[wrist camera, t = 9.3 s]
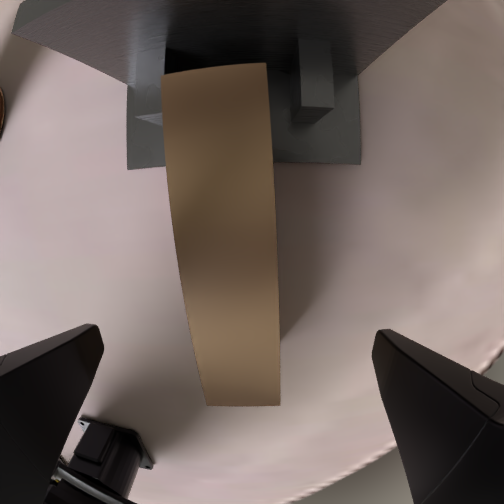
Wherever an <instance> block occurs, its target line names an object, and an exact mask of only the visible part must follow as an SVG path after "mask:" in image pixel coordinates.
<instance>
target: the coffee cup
mask: <svg viewBox="0 0 504 504" xmlns="http://www.w3.org/2000/svg"><path fill="white" fill-rule="evenodd" d="M3 119H4V97H3V94H2V91H1V88H0V132H1V128H2V123H3Z"/></svg>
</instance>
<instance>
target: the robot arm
mask: <svg viewBox="0 0 504 504" xmlns="http://www.w3.org/2000/svg"><path fill="white" fill-rule="evenodd" d="M103 352H104V344H103V341H102V337H101V334H100V330H99V328H98V326H97V325H94V324H84V325H82V326H79V327H76V328H74V329H71V330H69V331H66V332H63V333H61V334H58V335H56V336H53V337H50V338H48V339H45V340H42V341H40V342H37V343H35V344H32V345H29V346H27V347H24V348H21V349H19V350H16V351H13V352H11V353H8V354H7V355H6V354H5V355H3V356H0V504H137V503H135V502H132V501H130V500H128V496H129V493H130V490H131V488H132V485H133V482H134V479H135V477H136V474H137V471H138V468H139V467H140V468H145V469H150V470H151V469H152V468H153V464H152V462H151V460H150V458H149V456H148V454H147V452H146V450H145V448H144V446H143V444H142V442H141V439H140V437H139V435H138V434H137V433H136V432H135V431H132V430H128V429H123V428H119V427H115V426H111V425H107V424H103V423H99V422H95V421H92V420H88V419H85V418H81V417H80V418H79V420H78V423H79V425H80V426H81V428H82V430H83V432H84V434H83V436H82V438H81V439H80V441H79V443H78V445H77V446H76V448H75V450H74V455H73V457H72V458H71V460H70V462H69V464H68V466H66V465H65V464H63V463H62V461H60V460H59V457H60V455H61V452H62V450H63V447H64V445H65V442H66V440H67V438H68V435H69V433H70V431H71V428H72V426H73V424H74V422H75V419H76V417H77V415H78V413H79V411H80V408H81V406H82V404H83V402H84V400H85V398H86V396H87V394H88V391H89V389H90V387H91V385H92V382H93V379H94V377H95V374H96V371H97V368H98V366H99V363H100V360H101V358H102V355H103ZM372 360H373V364H374V369H375V373H376V377H377V381H378V386H379V390H380V394H381V398H382V401H383V404H384V407H385V410H386V413H387V416H388V419H389V422H390V425H391V428H392V431H393V434H394V437H395V440H396V443H397V446H398V449H399V453H400V456H401V459H402V462H403V466H404V469H405V472H406V476H407V480H408V483H409V487H410V490H411V494H412V498H413V502H414V504H504V385H503V384H500V383H498V382H495V381H493V380H491V379H489V378H487V377H485V376H483V375H480V374H478V373H476V372H475V371H473V370H472V371H470V369H468V368H466V367H464V366H462V365H460V364H458V363H456V362H454V361H452V360H450V359H448V358H446V357H444V356H442V355H440V354H438V353H436V352H434V351H432V350H431V349H429V348H427V347H425V346H423V345H421V344H419V343H417V342H415V341H413V340H411V339H409V338H407V337H405V336H403V335H401V334H399V333H397V332H395V331H393V330H391V329H382V330H378V331H377V333H376V336H375V341H374V345H373V350H372ZM55 478H56V479H58V480H59V481H60V482H59V483H58V482H56V481H55Z"/></svg>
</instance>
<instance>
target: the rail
mask: <svg viewBox="0 0 504 504" xmlns="http://www.w3.org/2000/svg"><path fill="white" fill-rule="evenodd" d="M161 100H162V120H163V136H164V149H165V161H166V172H167V182H168V192H169V201H170V209H171V217H172V225H173V233H174V240H175V247H176V254H177V260H178V267H179V273H180V279H181V285H182V291H183V297H184V302H185V308H186V313H187V318H188V324H189V329H190V334H191V338H192V343H193V348H194V353H195V357H196V362H197V366H198V371H199V375H200V379H201V384H202V388H203V392H204V396H205V400H206V404H207V406H280V330H279V290H278V260H277V234H276V211H275V191H274V172H273V155H272V138H271V123H270V108H269V94H268V81H267V69H266V63H249V64H236V65H226V66H217V67H209V68H202V69H195V70H189V71H183V72H177V73H171V74H166V75H161Z"/></svg>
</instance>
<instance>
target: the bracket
mask: <svg viewBox="0 0 504 504" xmlns="http://www.w3.org/2000/svg"><path fill="white" fill-rule="evenodd" d="M446 1H447V0H26V1H24V2H22V3H21V4H20V6H19V9H18V12H17V15H16V18H15V22H14V25H13V29H12V33H11V34H14V35H17V36H20V37H22V38H25V39H28V40H30V41H33V42H35V43H38V44H40V45H43V46H45V47H48V48H50V49H53V50H55V51H57V52H60V53H62V54H64V55H67V56H69V57H71V58H73V59H76V60H78V61H80V62H82V63H84V64H86V65H89V66H91V67H93V68H95V69H97V70H99V71H101V72H103V73H105V74H107V75H109V76H111V77H113V78H115V79H117V80H119V81H121V82H123V83H125V84H127V85H128V88H127V170H133V169H142V168H152V167H164V166H166V161H165V149H164V136H163V120H162V100H161V75H166V74H171V73H177V72H183V71H189V70H195V69H202V68H209V67H217V66H226V65H236V64H249V63H266V69H267V81H268V94H269V108H270V123H271V138H272V155H273V162H313V163H338V164H356V165H361V148H360V110H359V92H358V78H357V75H359V74H360V73H361V72H362V71H363V70H364V69H365V68H366V67H367V66H369V65H370V64H371V63H372V62H373V61H374V60H375V59H376V58H378V57H379V56H380V55H381V54H382V53H383V52H385V51H386V50H387V49H388V48H389V47H390V46H391V45H393V44H394V43H395V42H396V41H397V40H399V39H400V38H401V37H402V36H403V35H404V34H406V33H407V32H408V31H409V30H410V29H412V28H413V27H414V26H415V25H417V24H418V23H419V22H420V21H422V20H423V19H424V18H425V17H426V16H428V15H429V14H430V13H432V12H433V11H434V10H435V9H437V8H438V7H439V6H440V5H442V4H443V3H444V2H446Z"/></svg>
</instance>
